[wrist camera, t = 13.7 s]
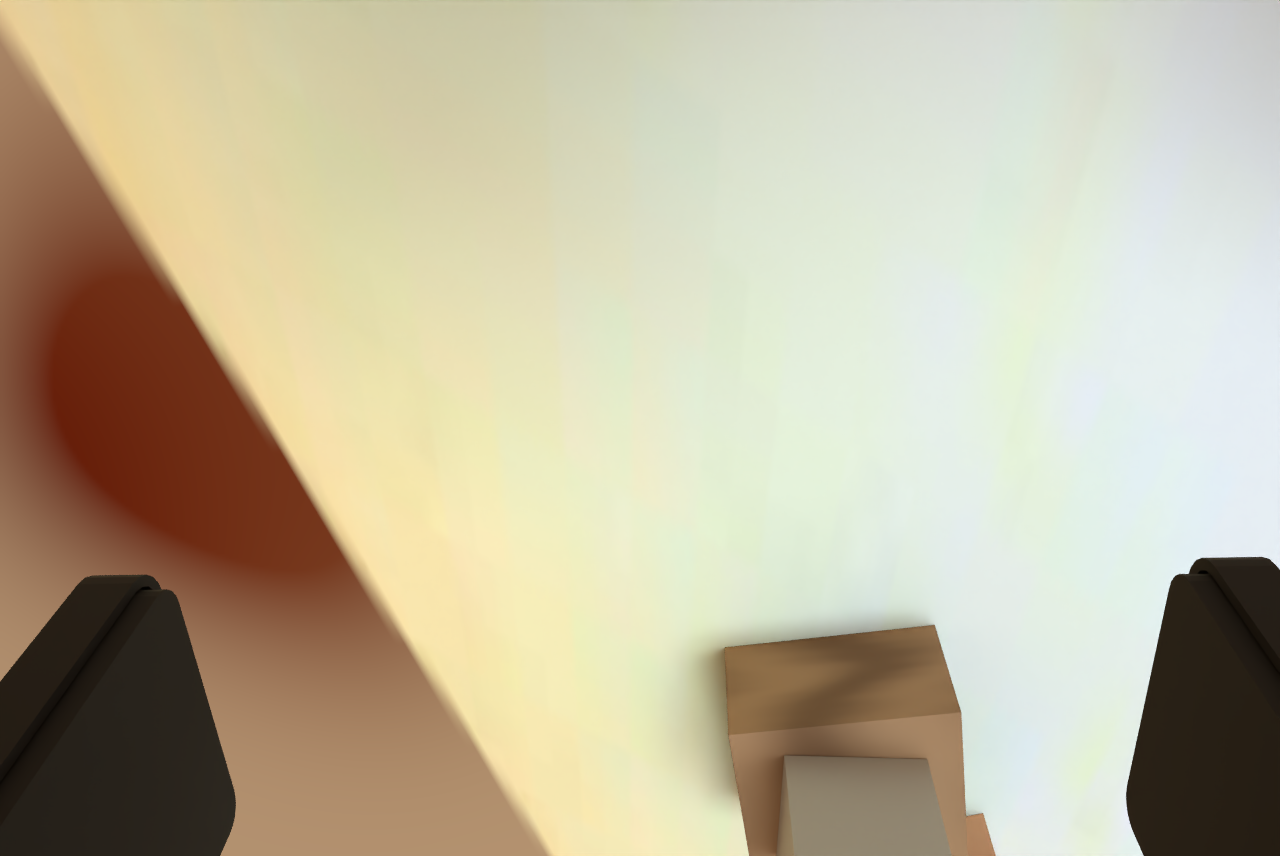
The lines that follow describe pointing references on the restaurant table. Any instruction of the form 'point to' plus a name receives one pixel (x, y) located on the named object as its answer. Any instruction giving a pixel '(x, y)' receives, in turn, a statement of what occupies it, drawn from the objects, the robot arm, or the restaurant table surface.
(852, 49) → the restaurant table surface
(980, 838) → the terracotta cube
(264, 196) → the restaurant table surface
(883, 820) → the grey block
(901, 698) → the walnut block
